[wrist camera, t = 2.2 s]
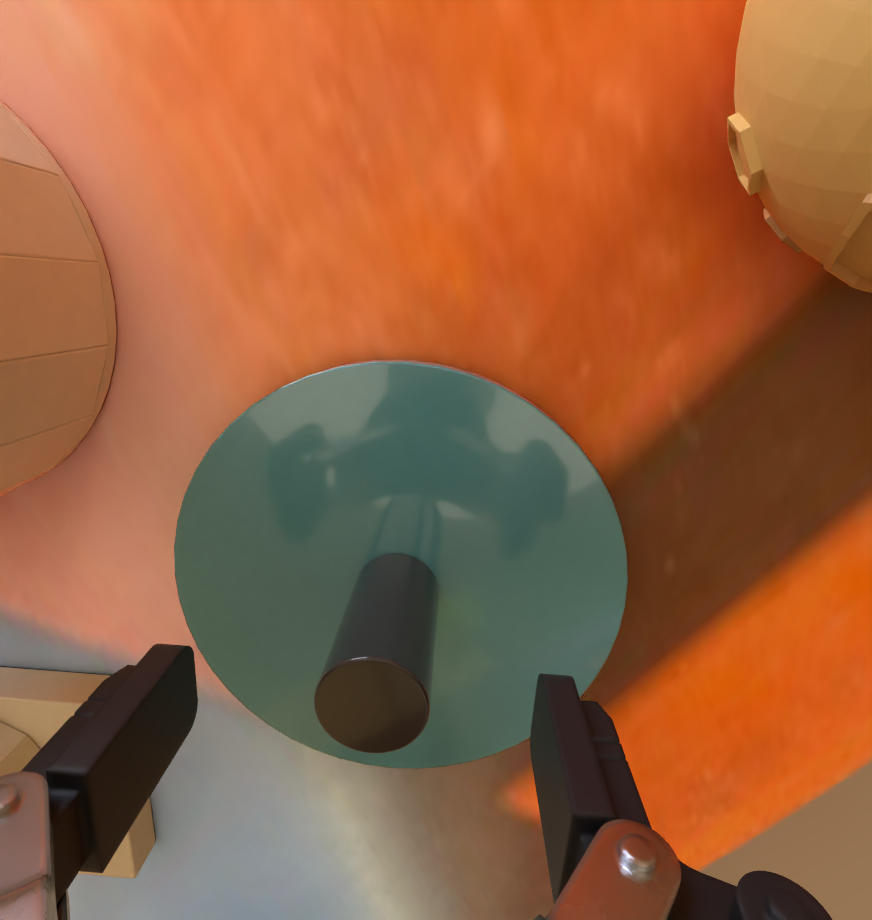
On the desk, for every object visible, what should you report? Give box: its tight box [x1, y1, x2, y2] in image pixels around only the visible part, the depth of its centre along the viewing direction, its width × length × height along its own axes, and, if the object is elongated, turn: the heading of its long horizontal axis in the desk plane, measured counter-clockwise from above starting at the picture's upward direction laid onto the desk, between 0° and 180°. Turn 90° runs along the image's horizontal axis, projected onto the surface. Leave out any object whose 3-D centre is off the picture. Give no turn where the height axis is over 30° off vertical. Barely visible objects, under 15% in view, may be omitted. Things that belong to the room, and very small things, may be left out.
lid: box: [174, 360, 628, 769], centre depth 15 cm, size 14×14×6 cm
